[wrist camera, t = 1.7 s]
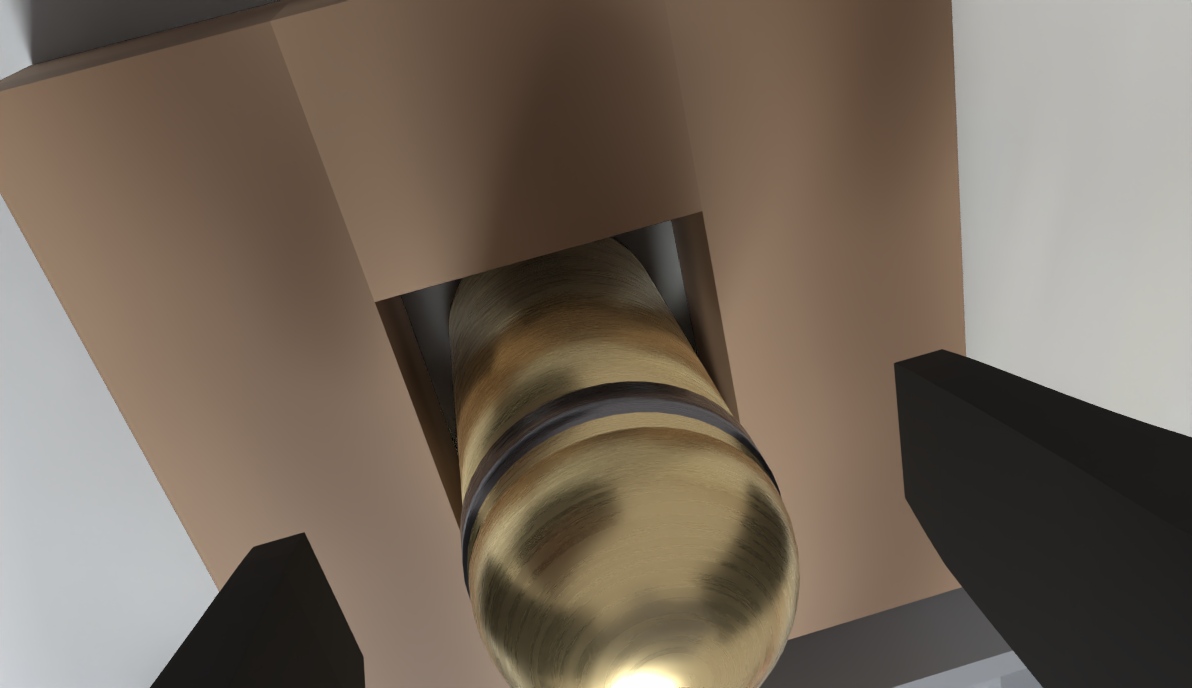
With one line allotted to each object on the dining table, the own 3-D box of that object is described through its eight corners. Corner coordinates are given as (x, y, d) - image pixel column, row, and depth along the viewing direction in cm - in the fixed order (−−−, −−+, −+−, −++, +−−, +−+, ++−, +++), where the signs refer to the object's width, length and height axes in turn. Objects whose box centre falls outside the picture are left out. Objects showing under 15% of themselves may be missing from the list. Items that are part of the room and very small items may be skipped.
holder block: (333, 673, 18) (323, 781, 16) (30, 65, 13) (-49, 103, 11) (910, 501, 19) (975, 583, 17) (858, -149, 14) (945, -155, 11)
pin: (480, 443, 17) (530, 870, 10) (416, 256, 15) (419, 604, 8) (678, 386, 17) (876, 763, 10) (637, 195, 15) (841, 480, 8)
